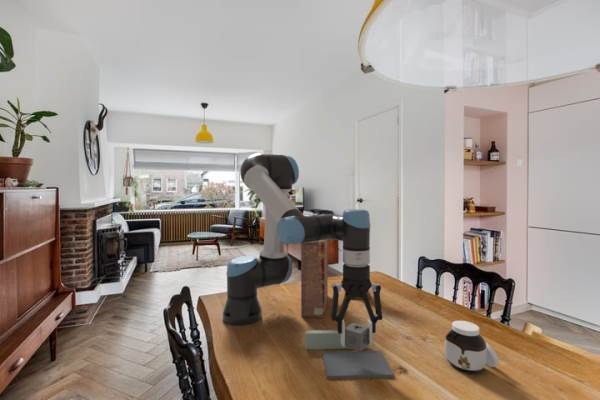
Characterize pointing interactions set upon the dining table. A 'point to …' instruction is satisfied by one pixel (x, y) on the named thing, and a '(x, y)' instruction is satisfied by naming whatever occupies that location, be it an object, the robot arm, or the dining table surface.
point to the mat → (356, 364)
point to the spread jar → (468, 348)
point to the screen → (324, 340)
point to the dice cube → (356, 336)
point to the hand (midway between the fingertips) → (356, 343)
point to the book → (314, 278)
